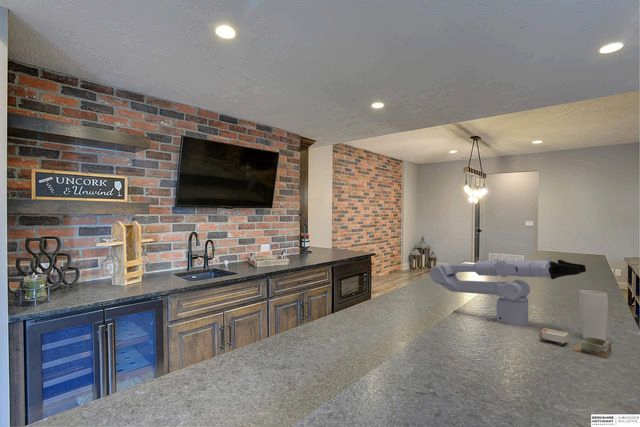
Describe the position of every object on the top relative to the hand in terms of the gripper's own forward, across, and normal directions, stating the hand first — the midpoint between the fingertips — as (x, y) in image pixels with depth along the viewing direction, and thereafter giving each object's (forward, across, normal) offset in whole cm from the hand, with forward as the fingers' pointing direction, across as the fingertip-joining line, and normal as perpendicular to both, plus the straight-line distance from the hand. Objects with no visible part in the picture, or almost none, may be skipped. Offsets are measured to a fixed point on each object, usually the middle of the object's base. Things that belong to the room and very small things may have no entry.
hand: (582, 269), depth 101 cm
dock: (-4, -13, +22) cm, 25 cm away
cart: (-6, -13, +20) cm, 25 cm away
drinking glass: (0, 0, +22) cm, 22 cm away
